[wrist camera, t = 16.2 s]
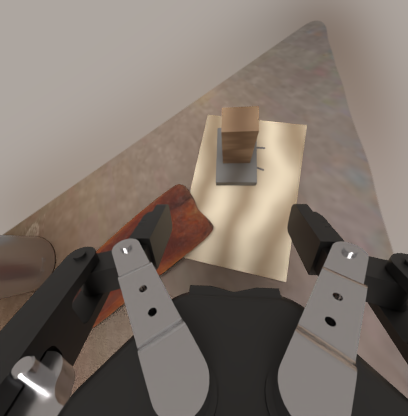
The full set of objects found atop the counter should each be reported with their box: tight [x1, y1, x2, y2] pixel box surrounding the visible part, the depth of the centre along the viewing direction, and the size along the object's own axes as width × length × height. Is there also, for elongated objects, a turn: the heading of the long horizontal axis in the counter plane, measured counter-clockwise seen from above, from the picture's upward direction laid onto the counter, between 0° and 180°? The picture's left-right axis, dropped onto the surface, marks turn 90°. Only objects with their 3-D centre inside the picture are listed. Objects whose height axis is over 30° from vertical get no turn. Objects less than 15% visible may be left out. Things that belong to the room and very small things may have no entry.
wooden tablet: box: [73, 184, 214, 328], centre depth 28 cm, size 27×10×2 cm, turn 128°
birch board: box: [183, 115, 307, 282], centre depth 29 cm, size 16×24×2 cm, turn 168°
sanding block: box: [216, 106, 259, 186], centre depth 25 cm, size 6×9×10 cm, turn 177°
